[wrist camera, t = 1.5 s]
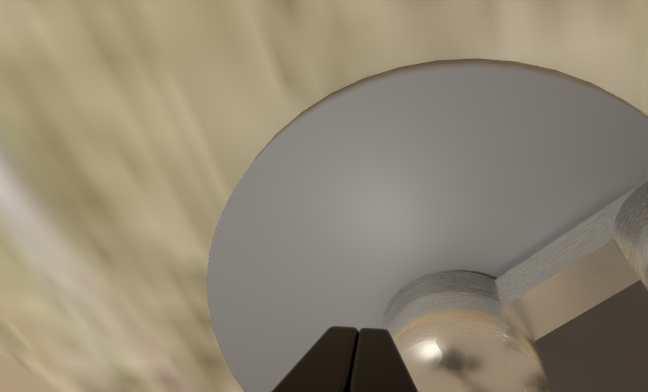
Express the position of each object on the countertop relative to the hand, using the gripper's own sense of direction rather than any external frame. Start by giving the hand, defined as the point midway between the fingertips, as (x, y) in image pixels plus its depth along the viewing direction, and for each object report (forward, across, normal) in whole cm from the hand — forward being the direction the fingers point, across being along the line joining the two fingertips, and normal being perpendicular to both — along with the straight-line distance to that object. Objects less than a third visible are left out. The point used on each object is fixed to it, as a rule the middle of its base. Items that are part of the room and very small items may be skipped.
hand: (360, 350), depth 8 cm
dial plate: (+11, -2, +7) cm, 13 cm away
